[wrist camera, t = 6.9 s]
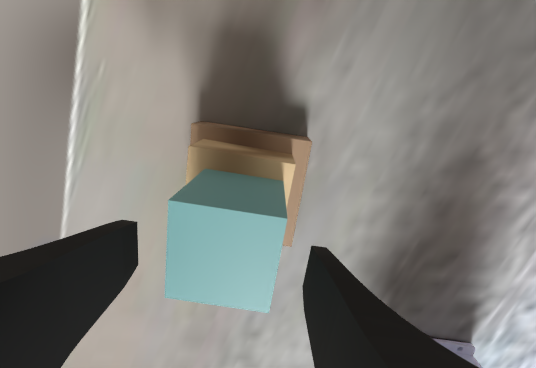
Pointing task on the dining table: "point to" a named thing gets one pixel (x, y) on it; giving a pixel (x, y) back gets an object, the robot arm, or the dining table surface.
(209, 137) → the brown square slab
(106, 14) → the dining table surface
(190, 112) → the dining table surface
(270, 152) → the oak slab
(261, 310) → the teal block
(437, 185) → the dining table surface
